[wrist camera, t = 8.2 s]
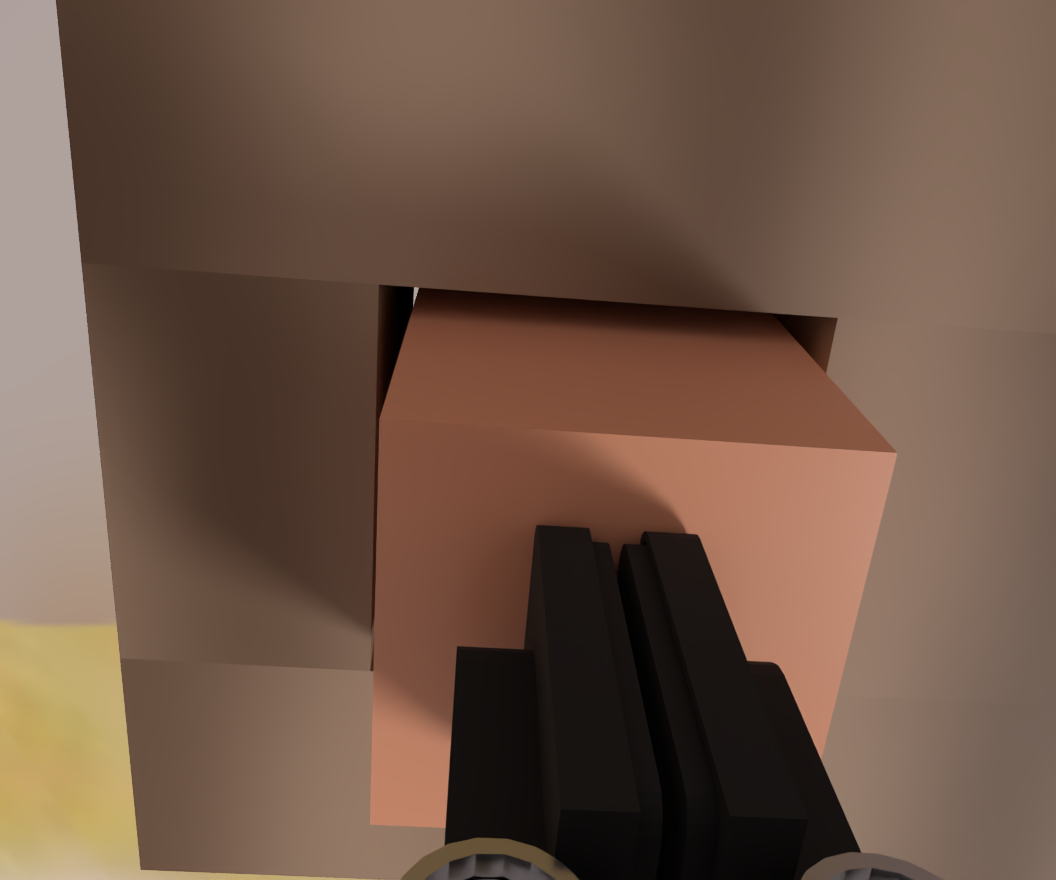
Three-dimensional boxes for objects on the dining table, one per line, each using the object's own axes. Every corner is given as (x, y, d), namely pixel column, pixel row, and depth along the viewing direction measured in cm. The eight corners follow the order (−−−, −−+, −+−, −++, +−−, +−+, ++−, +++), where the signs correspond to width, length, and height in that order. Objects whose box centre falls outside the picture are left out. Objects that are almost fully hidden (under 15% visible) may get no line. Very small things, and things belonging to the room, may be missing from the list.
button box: (1811, 72, 17) (2415, 99, 12) (1456, 713, 23) (1757, 935, 17) (202, -74, 16) (43, -121, 10) (233, 649, 21) (140, 869, 16)
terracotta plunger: (732, 269, 16) (898, 453, 10) (689, 533, 18) (799, 843, 12) (431, 247, 16) (379, 419, 9) (420, 517, 18) (369, 825, 11)
